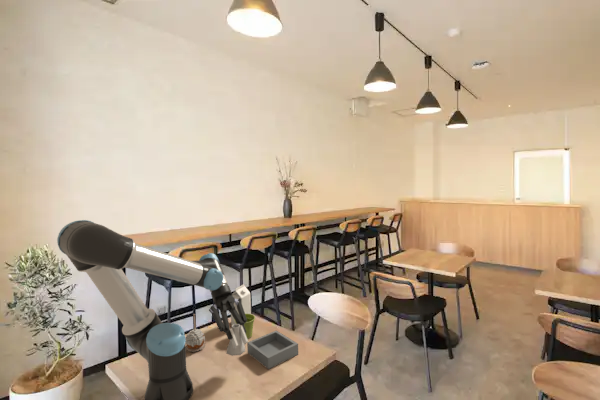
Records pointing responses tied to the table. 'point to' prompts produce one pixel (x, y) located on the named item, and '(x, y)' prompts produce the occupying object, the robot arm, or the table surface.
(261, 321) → the table surface
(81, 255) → the robot arm
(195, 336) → the decorative ornament
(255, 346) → the open box
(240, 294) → the milk carton
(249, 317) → the plant pot
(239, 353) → the flask
